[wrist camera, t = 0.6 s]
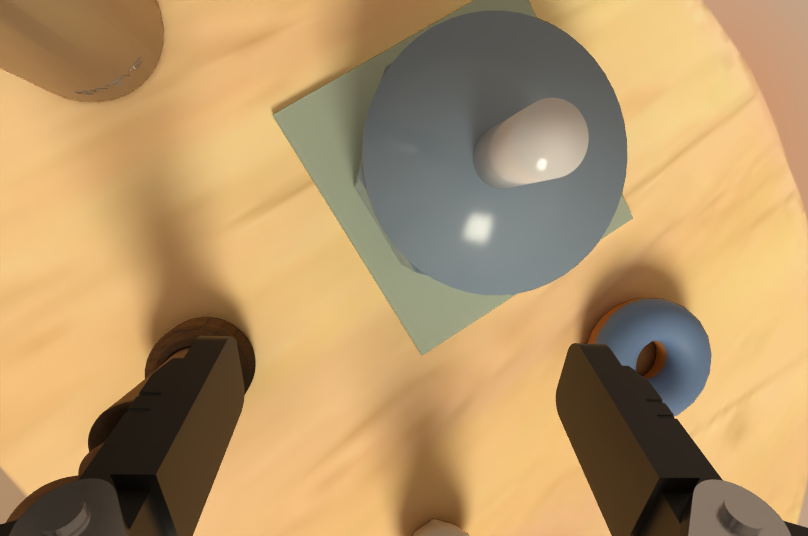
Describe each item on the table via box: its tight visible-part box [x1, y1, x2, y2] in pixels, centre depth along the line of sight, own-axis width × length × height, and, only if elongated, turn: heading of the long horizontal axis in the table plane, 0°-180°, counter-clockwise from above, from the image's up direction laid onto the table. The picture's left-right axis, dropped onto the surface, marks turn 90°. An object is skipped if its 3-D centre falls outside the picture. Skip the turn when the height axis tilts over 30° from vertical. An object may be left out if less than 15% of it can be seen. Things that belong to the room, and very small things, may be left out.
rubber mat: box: [273, 0, 633, 355], centre depth 32 cm, size 20×20×1 cm
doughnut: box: [587, 299, 711, 416], centre depth 34 cm, size 10×10×5 cm
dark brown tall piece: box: [6, 317, 255, 523], centre depth 21 cm, size 7×6×18 cm
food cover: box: [354, 11, 627, 295], centre depth 25 cm, size 16×16×12 cm
